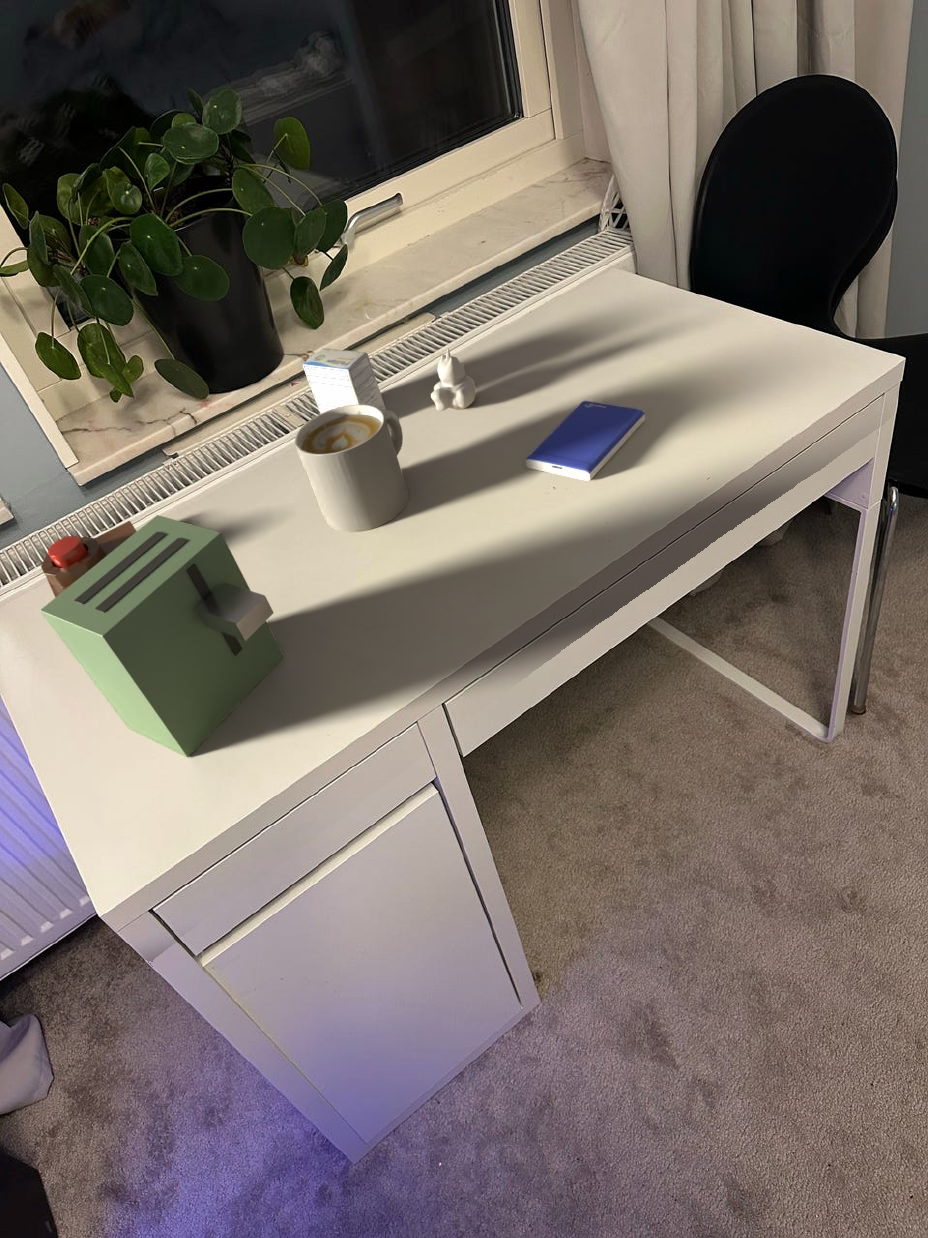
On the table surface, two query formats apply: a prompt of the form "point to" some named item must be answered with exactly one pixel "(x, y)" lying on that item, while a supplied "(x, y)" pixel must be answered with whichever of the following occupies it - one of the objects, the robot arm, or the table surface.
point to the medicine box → (342, 379)
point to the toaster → (162, 633)
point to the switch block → (86, 557)
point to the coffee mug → (354, 466)
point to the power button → (67, 551)
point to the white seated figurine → (452, 385)
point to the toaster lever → (234, 611)
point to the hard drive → (586, 440)
